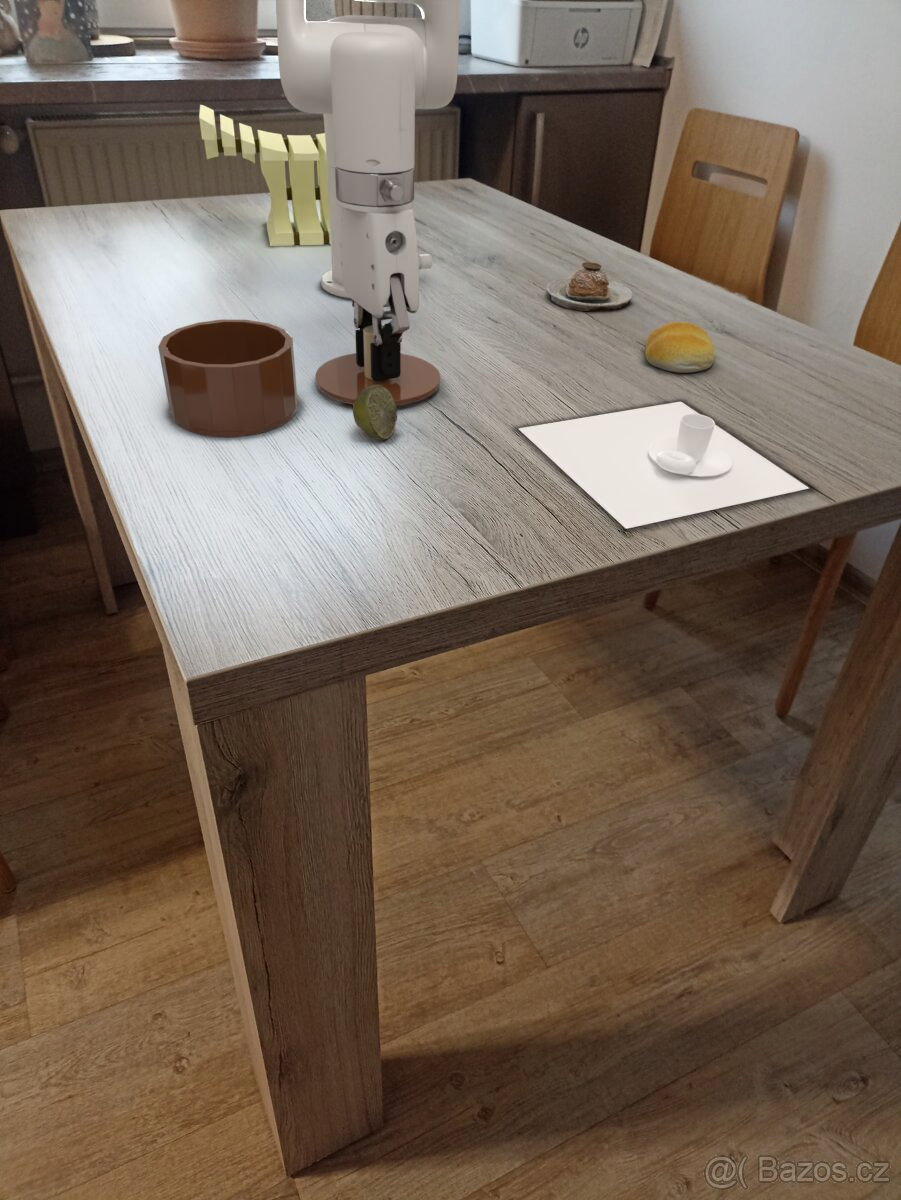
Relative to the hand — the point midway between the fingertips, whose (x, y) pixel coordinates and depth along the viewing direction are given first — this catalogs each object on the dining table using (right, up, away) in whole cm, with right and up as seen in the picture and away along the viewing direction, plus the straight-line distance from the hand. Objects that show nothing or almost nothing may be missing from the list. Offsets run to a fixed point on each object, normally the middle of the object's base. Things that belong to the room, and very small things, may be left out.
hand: (378, 369), depth 92 cm
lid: (0, -1, +1) cm, 1 cm away
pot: (-14, -5, -5) cm, 16 cm away
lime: (0, -9, -8) cm, 12 cm away
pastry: (+27, +17, +27) cm, 42 cm away
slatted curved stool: (-16, +36, +50) cm, 64 cm away
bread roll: (+35, +4, +10) cm, 37 cm away
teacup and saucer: (+28, -11, -10) cm, 32 cm away
